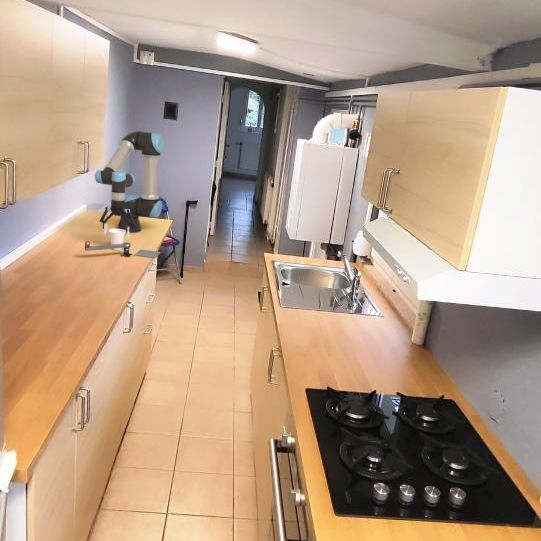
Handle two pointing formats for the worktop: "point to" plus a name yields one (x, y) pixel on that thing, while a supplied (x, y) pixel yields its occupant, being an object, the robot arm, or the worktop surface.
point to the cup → (117, 237)
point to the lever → (105, 246)
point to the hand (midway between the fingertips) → (117, 236)
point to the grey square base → (126, 253)
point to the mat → (147, 253)
